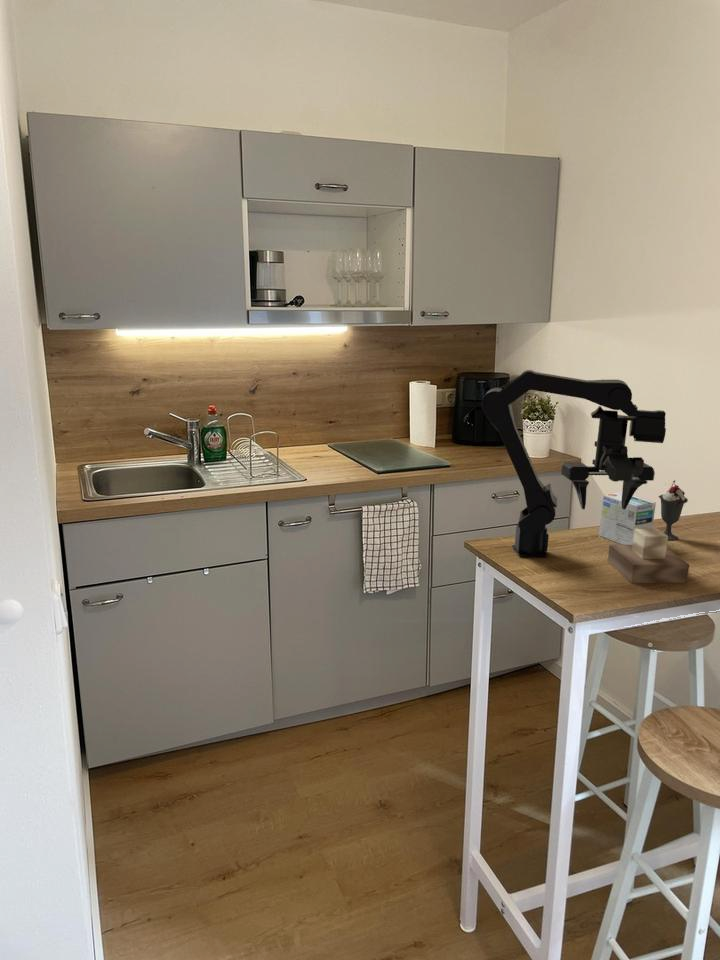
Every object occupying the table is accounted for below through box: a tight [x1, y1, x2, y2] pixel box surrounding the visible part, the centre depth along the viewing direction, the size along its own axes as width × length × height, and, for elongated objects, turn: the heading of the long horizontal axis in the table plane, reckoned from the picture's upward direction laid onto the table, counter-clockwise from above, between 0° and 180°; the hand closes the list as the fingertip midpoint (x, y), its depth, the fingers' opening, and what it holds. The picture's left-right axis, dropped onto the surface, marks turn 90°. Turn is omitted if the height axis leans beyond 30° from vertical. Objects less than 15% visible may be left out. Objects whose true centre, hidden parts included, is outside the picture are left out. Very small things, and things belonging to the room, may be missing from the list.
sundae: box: [658, 480, 689, 541], centre depth 177 cm, size 7×7×15 cm
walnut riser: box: [607, 544, 690, 584], centre depth 156 cm, size 12×12×4 cm
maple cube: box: [632, 528, 669, 559], centre depth 155 cm, size 5×5×5 cm
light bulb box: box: [598, 491, 657, 545], centre depth 175 cm, size 11×7×11 cm, turn 30°
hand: (603, 508), depth 159 cm, fingers open, 9 cm apart
